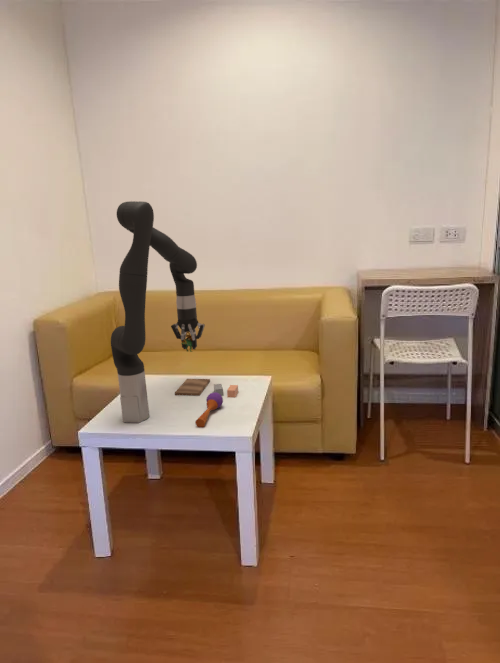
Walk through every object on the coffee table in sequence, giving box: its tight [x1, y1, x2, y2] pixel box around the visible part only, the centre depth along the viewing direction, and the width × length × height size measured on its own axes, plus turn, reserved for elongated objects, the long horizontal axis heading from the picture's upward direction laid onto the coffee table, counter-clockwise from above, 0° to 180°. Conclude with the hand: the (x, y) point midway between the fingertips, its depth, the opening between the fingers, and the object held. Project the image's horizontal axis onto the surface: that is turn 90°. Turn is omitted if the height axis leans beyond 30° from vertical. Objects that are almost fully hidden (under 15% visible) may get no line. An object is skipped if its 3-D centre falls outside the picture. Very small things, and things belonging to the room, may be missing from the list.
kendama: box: [195, 391, 224, 428], centre depth 183 cm, size 6×6×20 cm
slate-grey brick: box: [213, 383, 224, 397], centre depth 204 cm, size 6×3×3 cm, turn 9°
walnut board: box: [174, 378, 211, 397], centre depth 211 cm, size 16×10×1 cm, turn 169°
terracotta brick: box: [226, 384, 239, 398], centre depth 202 cm, size 6×3×3 cm, turn 169°
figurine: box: [180, 332, 197, 353], centre depth 206 cm, size 3×12×8 cm, turn 157°
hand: (189, 348), depth 207 cm, fingers closed on figurine, 3 cm apart
